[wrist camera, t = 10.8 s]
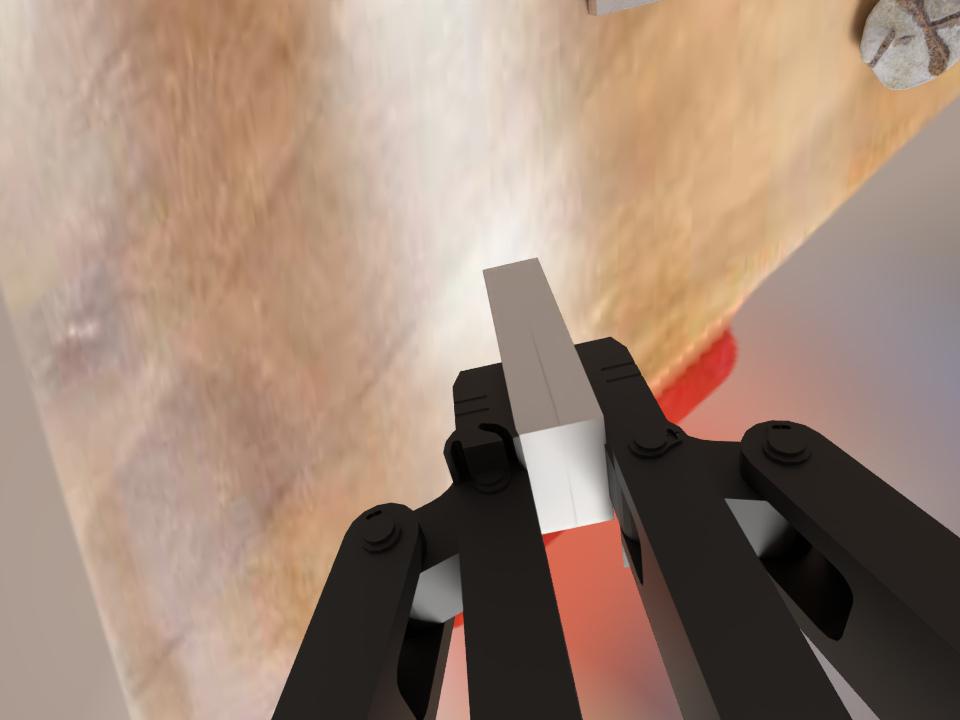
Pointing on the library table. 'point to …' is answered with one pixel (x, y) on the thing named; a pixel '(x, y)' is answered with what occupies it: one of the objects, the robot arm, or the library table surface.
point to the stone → (911, 41)
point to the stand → (613, 5)
